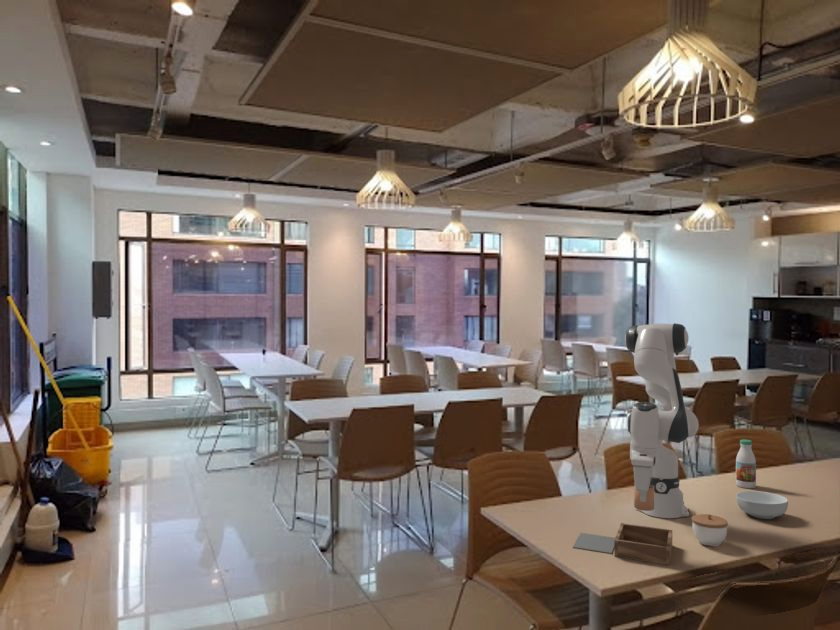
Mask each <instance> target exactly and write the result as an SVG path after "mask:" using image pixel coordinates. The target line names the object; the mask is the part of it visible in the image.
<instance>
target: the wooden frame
mask: <svg viewBox="0 0 840 630" xmlns="http://www.w3.org/2000/svg"><path fill="white" fill-rule="evenodd" d="M614 538H615V540H614V549H613V551H614V552H613V554H614V555H613V556H614V557H618V558H623V559H630V560H638V561H643V562H649V563H655V564H660V565H661V564H662V565H668V566H670V564H671V559H672V558H671V557H672V550H673V529H667V528H659V527H651V526H647V525H646V526H645V525H637V524H631V523H630V524H629V523H623V522H620V525H619V527H618V530H617V533H616V535H615V537H614Z"/></svg>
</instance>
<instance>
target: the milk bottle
mask: <svg viewBox="0 0 840 630" xmlns="http://www.w3.org/2000/svg"><path fill="white" fill-rule="evenodd" d="M739 444H740V448H739V450H738V452H737V455H736V458H735V485H736V486H737V487H739V488H744V489H754V488H756V487H757V486H756V485H757V463H756V457H755V453H754V452H753V449H752V446H753V441H752V440H751V439H750V440H749V439H740V440H739Z"/></svg>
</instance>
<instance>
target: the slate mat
mask: <svg viewBox="0 0 840 630" xmlns="http://www.w3.org/2000/svg"><path fill="white" fill-rule="evenodd" d="M614 540H615V537H613V536H611V537H610V536H606V535H599V534H592V533H585V532H580V534H579V535H578V536H577V539H576V541H575V543H574V544H573V546H572V548H573V549H577V548H578V549H579V550H585V551H591V552H592V551H593V552H598V553H605V554H610V555H612V554H613V553H614V552H613V551H614Z"/></svg>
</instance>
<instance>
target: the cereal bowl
mask: <svg viewBox="0 0 840 630" xmlns="http://www.w3.org/2000/svg"><path fill="white" fill-rule="evenodd" d="M735 496H736V503H737V505H738V507H739V508H740V510H741V511H742V512H744V513H747V514H749V515H750V516H751V517H753V518H757V519H761V520H772V519H775V517H777V518H778V517H781V516H782V515H784V514H786V513H787V510H788V508H789V499H787V498H786V497H784V496H783V495H780V494H776V493H772V492H766V491H758V490H757V491H756V490H746V491H740V492H737V493H736V495H735Z"/></svg>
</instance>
